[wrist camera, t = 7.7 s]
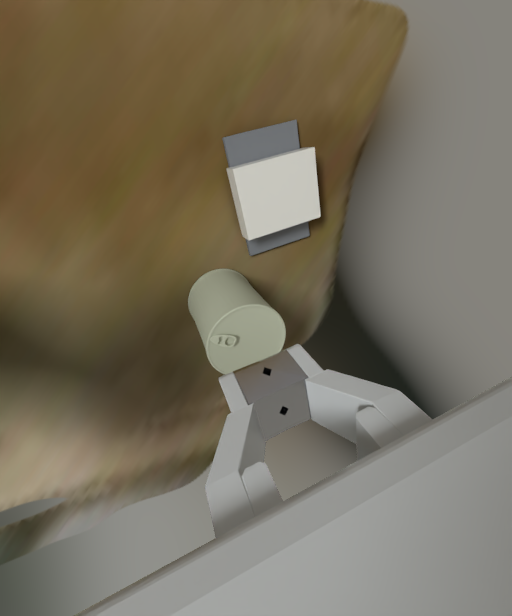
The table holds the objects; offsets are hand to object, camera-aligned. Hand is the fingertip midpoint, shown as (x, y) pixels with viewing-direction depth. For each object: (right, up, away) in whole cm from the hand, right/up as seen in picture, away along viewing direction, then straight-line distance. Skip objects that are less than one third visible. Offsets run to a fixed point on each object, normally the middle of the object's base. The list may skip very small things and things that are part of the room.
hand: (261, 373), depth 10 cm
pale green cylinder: (-5, +4, +31) cm, 32 cm away
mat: (+2, +17, +27) cm, 32 cm away
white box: (-2, +14, +24) cm, 28 cm away
